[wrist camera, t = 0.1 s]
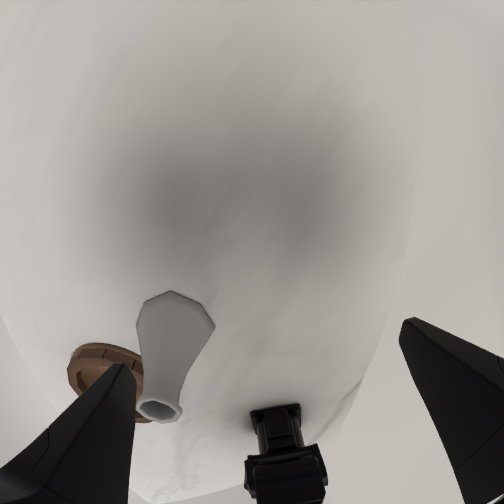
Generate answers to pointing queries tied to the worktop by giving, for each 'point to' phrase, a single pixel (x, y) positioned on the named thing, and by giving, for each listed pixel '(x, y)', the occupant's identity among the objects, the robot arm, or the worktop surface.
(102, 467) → the robot arm
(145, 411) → the flask
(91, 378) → the round wooden tray
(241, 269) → the worktop surface
